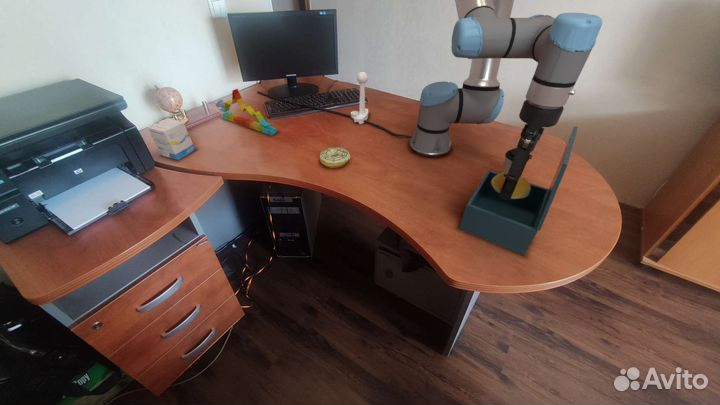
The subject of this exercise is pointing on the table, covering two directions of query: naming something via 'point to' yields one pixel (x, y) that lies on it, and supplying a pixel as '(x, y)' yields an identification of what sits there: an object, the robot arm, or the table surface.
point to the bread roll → (520, 189)
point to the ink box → (172, 138)
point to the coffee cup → (509, 159)
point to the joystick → (361, 100)
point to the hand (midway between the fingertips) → (508, 188)
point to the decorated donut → (334, 157)
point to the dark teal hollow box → (504, 215)
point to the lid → (557, 177)
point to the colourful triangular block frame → (261, 126)
